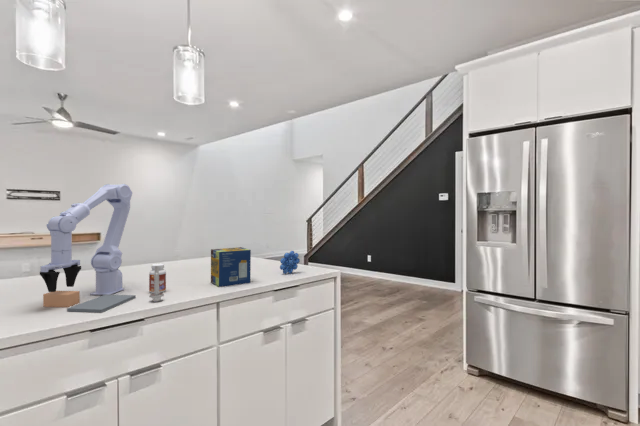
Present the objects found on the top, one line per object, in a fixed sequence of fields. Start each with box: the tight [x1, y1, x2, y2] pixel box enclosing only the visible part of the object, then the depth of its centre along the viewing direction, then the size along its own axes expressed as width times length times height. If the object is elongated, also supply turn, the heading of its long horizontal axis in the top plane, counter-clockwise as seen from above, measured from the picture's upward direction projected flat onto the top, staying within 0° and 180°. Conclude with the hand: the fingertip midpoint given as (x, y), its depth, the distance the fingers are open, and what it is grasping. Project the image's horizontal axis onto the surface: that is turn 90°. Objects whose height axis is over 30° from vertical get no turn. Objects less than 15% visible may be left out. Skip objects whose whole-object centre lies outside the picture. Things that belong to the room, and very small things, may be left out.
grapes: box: [279, 250, 301, 275], centre depth 178 cm, size 12×7×12 cm, turn 124°
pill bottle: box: [148, 263, 167, 294], centre depth 138 cm, size 6×6×11 cm
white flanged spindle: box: [149, 266, 165, 303], centre depth 124 cm, size 13×5×5 cm
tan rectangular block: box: [42, 290, 81, 308], centre depth 118 cm, size 5×9×4 cm, turn 87°
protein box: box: [210, 246, 252, 288], centre depth 155 cm, size 10×15×16 cm
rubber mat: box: [66, 294, 137, 314], centre depth 120 cm, size 18×12×1 cm, turn 176°
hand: (61, 289), depth 118 cm, fingers open, 7 cm apart
